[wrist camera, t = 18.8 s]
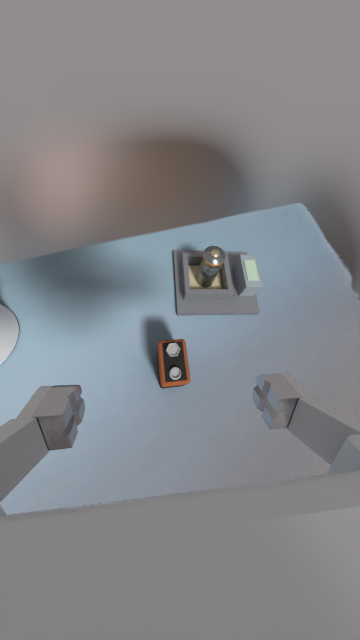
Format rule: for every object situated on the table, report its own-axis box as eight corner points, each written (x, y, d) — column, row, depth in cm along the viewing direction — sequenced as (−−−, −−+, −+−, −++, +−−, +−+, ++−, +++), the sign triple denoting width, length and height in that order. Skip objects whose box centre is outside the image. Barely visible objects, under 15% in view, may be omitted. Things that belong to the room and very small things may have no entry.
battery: (179, 350, 40) (186, 336, 31) (183, 386, 38) (192, 383, 28) (157, 352, 39) (157, 339, 30) (159, 388, 37) (161, 386, 28)
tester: (177, 315, 42) (179, 305, 38) (173, 253, 48) (175, 237, 43) (257, 314, 45) (269, 304, 40) (244, 254, 50) (254, 240, 45)
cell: (196, 287, 44) (205, 262, 35) (195, 271, 45) (203, 243, 37) (214, 287, 44) (227, 262, 36) (212, 272, 46) (225, 244, 37)
